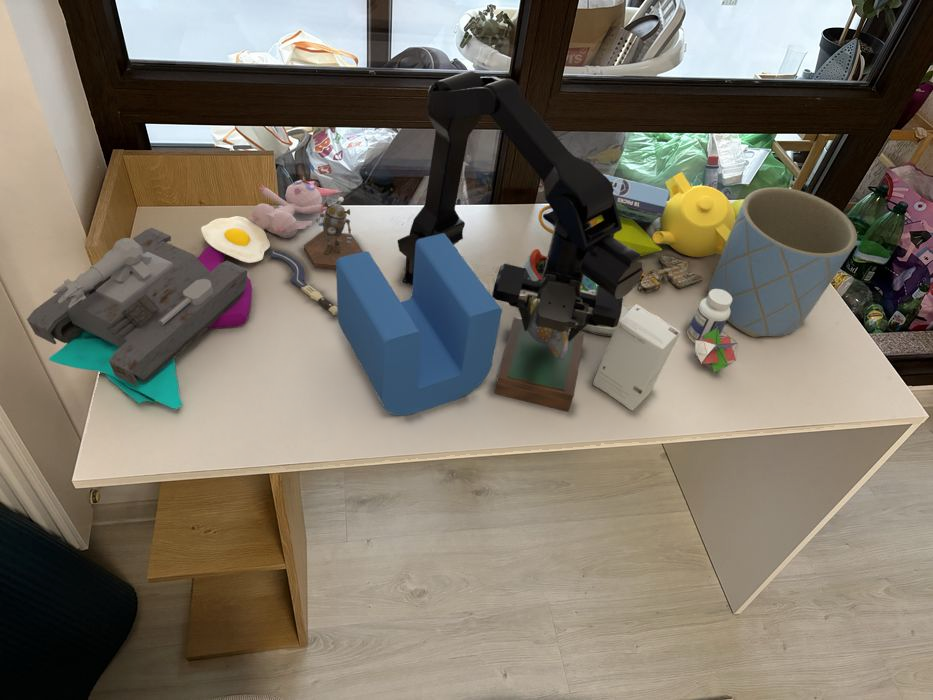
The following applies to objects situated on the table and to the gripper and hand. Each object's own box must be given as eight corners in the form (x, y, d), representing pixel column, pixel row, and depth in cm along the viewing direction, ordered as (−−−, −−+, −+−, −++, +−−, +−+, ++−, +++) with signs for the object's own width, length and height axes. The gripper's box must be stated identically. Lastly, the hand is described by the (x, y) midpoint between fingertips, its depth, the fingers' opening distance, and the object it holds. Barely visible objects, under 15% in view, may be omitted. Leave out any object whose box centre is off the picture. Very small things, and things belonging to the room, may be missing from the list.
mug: (521, 316, 120) (528, 285, 115) (562, 315, 121) (570, 285, 116) (534, 371, 111) (542, 341, 107) (578, 370, 113) (588, 340, 108)
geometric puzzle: (756, 346, 122) (727, 374, 119) (732, 358, 128) (704, 385, 125) (727, 313, 122) (698, 340, 119) (704, 327, 129) (676, 353, 126)
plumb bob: (654, 245, 148) (535, 212, 146) (673, 217, 141) (548, 182, 139) (651, 281, 144) (529, 248, 142) (671, 254, 136) (542, 218, 134)
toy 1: (158, 250, 127) (136, 176, 116) (252, 292, 122) (238, 218, 111) (37, 341, 111) (-2, 266, 100) (139, 394, 106) (109, 320, 95)
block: (381, 424, 110) (384, 340, 97) (338, 343, 120) (335, 258, 107) (486, 389, 117) (502, 307, 104) (437, 315, 127) (446, 232, 114)
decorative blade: (277, 247, 136) (255, 257, 133) (277, 243, 135) (255, 253, 132) (355, 305, 127) (333, 317, 124) (355, 301, 127) (333, 313, 124)
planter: (750, 355, 129) (800, 267, 114) (682, 286, 140) (719, 198, 125) (826, 326, 136) (882, 241, 121) (755, 264, 147) (799, 178, 132)
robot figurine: (297, 265, 132) (293, 210, 123) (306, 233, 138) (303, 179, 130) (359, 271, 133) (359, 217, 124) (365, 239, 139) (366, 185, 131)
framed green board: (494, 393, 116) (497, 376, 113) (510, 333, 126) (513, 316, 123) (568, 411, 116) (574, 394, 112) (579, 350, 125) (584, 332, 122)
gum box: (562, 200, 156) (556, 191, 133) (568, 176, 155) (563, 163, 133) (652, 223, 153) (662, 218, 131) (659, 199, 152) (670, 189, 130)
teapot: (619, 220, 151) (625, 194, 140) (692, 173, 152) (704, 144, 141) (680, 295, 145) (690, 274, 134) (755, 246, 146) (772, 221, 136)
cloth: (93, 300, 119) (97, 311, 121) (24, 350, 109) (28, 361, 111) (229, 357, 113) (230, 368, 115) (168, 416, 104) (170, 426, 105)
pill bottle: (717, 331, 132) (738, 291, 125) (714, 351, 128) (735, 311, 121) (688, 322, 133) (706, 282, 126) (684, 342, 129) (703, 301, 122)
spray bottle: (181, 332, 118) (192, 238, 135) (252, 328, 120) (253, 236, 137) (178, 318, 116) (189, 225, 133) (250, 314, 118) (252, 223, 135)
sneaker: (619, 349, 126) (634, 307, 119) (509, 299, 132) (517, 256, 125) (635, 323, 131) (650, 282, 124) (528, 276, 137) (536, 235, 130)
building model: (673, 254, 147) (675, 247, 146) (710, 278, 142) (713, 271, 141) (621, 281, 140) (623, 273, 139) (659, 307, 135) (661, 299, 133)
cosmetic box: (591, 385, 120) (613, 319, 109) (610, 365, 123) (634, 300, 113) (634, 413, 117) (662, 349, 106) (653, 393, 120) (682, 328, 109)
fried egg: (250, 269, 127) (251, 264, 127) (190, 234, 127) (191, 229, 127) (285, 241, 137) (286, 236, 136) (229, 208, 137) (230, 204, 136)
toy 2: (228, 200, 133) (295, 150, 146) (234, 230, 138) (299, 179, 151) (294, 227, 129) (357, 173, 142) (297, 257, 134) (359, 202, 147)
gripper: (492, 277, 99) (478, 356, 110) (629, 310, 97) (600, 386, 108) (507, 229, 106) (493, 307, 118) (635, 258, 105) (607, 335, 116)
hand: (547, 334), depth 115 cm, fingers closed on mug, 6 cm apart
